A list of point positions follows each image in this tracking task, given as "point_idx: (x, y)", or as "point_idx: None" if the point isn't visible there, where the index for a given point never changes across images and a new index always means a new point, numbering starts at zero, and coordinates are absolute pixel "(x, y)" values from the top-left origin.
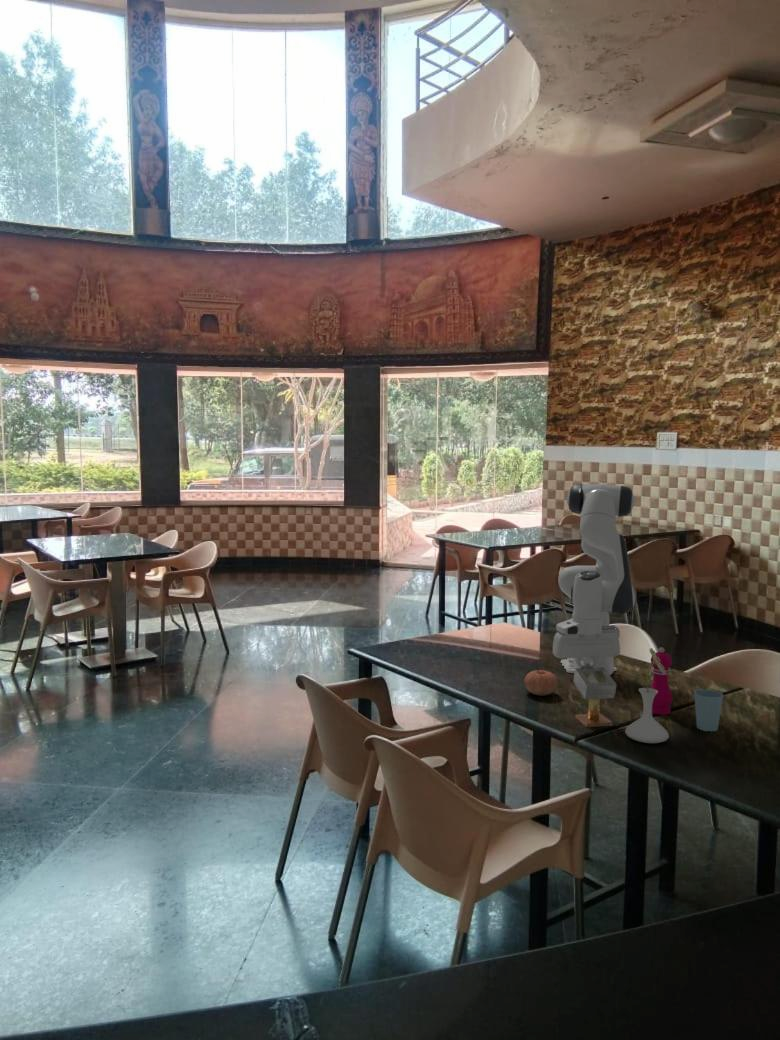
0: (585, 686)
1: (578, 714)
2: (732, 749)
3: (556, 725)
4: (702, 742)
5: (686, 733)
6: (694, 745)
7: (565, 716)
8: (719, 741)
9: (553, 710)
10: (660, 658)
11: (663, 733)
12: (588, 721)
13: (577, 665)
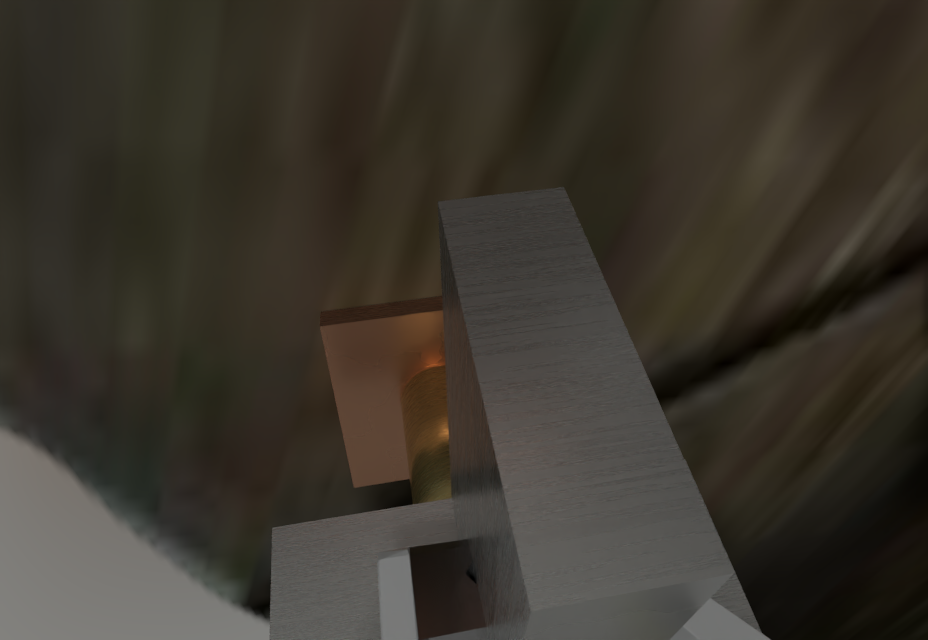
0: None
1: (347, 324)
2: (878, 627)
3: (140, 453)
4: (830, 586)
5: (853, 509)
6: (772, 613)
7: (241, 277)
8: (906, 571)
9: (139, 108)
10: None
11: None
12: (381, 453)
13: (456, 352)
